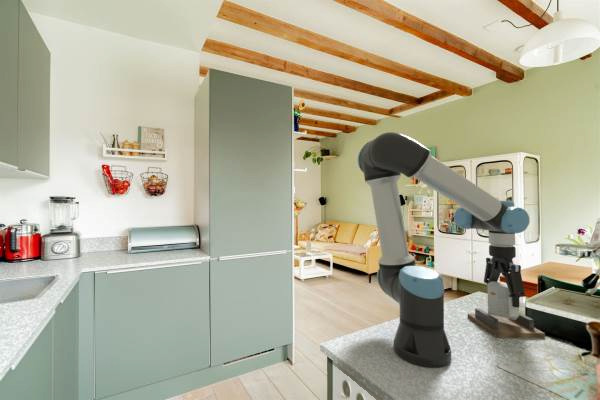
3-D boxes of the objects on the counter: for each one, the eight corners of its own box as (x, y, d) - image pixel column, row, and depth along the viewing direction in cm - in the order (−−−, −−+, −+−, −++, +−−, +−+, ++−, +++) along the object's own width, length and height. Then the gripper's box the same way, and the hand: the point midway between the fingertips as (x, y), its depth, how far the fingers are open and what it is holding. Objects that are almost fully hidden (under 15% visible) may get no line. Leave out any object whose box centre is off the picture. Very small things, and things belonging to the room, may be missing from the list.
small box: (519, 316, 97) (519, 285, 97) (515, 320, 93) (515, 288, 93) (492, 309, 103) (491, 280, 103) (487, 313, 99) (487, 283, 99)
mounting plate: (496, 337, 90) (496, 323, 90) (467, 317, 106) (467, 305, 106) (544, 337, 90) (544, 323, 90) (508, 317, 106) (508, 305, 106)
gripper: (539, 250, 87) (540, 323, 87) (491, 240, 109) (492, 299, 109) (514, 250, 87) (516, 324, 87) (472, 241, 109) (473, 299, 109)
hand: (503, 310), depth 98 cm, fingers closed on small box, 9 cm apart
